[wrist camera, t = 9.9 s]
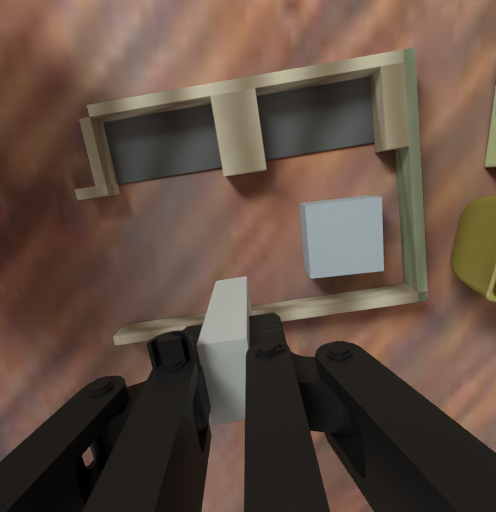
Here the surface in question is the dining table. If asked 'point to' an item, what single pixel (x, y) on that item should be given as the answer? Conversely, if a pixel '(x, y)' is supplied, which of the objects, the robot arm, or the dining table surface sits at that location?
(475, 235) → the flower pot
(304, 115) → the box
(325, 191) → the dining table surface
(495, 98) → the box
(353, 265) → the block
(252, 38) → the dining table surface
